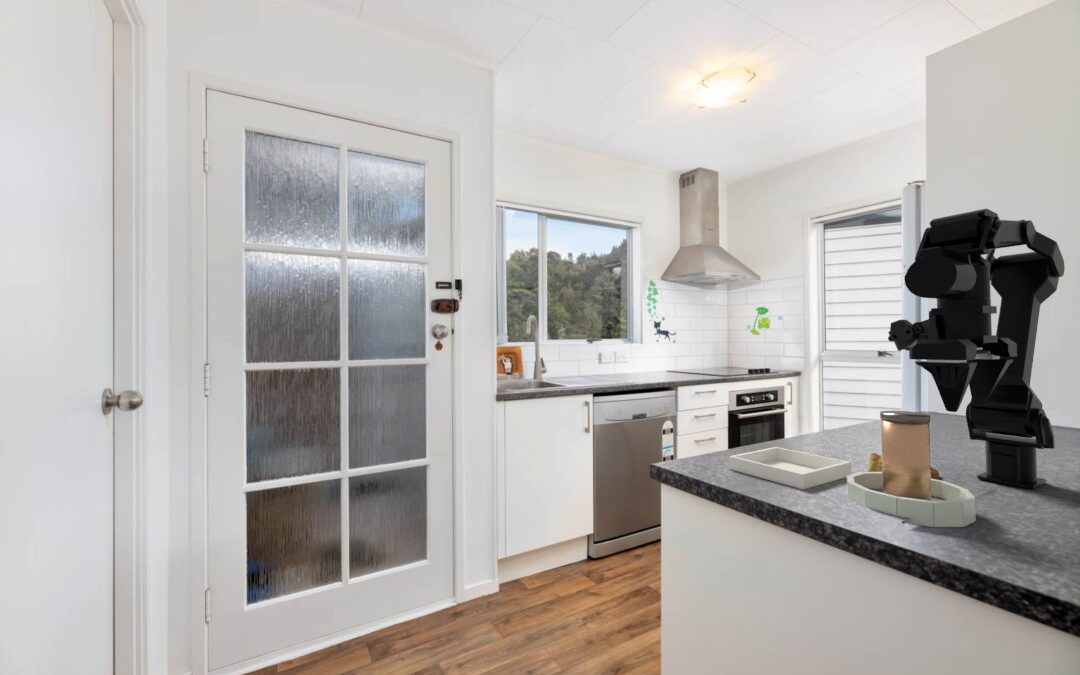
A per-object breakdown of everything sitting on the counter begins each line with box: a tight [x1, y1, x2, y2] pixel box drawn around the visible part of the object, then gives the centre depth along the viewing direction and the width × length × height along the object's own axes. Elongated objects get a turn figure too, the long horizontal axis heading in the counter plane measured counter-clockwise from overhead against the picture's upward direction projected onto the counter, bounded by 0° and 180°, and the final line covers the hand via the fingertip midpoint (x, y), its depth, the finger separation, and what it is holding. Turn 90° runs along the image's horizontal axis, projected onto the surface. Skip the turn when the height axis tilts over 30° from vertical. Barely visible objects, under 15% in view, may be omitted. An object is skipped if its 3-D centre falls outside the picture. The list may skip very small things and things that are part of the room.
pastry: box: [866, 452, 940, 480], centre depth 76 cm, size 9×7×4 cm
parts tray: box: [728, 446, 852, 490], centre depth 78 cm, size 13×13×3 cm
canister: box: [879, 410, 932, 501], centre depth 63 cm, size 5×5×12 cm
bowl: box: [846, 471, 977, 528], centre depth 63 cm, size 13×13×3 cm
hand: (965, 408), depth 66 cm, fingers open, 9 cm apart
